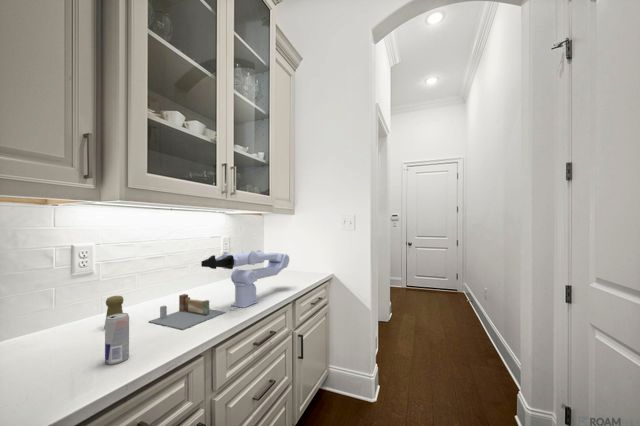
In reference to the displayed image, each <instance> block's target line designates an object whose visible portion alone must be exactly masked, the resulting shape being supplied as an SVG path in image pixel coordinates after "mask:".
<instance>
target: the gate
mask: <svg viewBox="0 0 640 426" xmlns="http://www.w3.org/2000/svg"><path fill="white" fill-rule="evenodd" d="M209 309H210V300H209V299H206V300H201V299H200V300H199V299H194V298H193V299H192V298H191V297H189V296H188V297H187V298H185V311H191V312H196V313H202V314H208V313H209Z"/></svg>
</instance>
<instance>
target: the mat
mask: <svg viewBox="0 0 640 426" xmlns="http://www.w3.org/2000/svg"><path fill="white" fill-rule="evenodd" d="M223 314H226V311H222V310H216V309H211V308H209V313H208V314H202V313H196V312H191V311H185V312H180V311H176V312H173V313H169V314H167V318H165V319H160V317H158V318H153V319H151V320H148V323H150V324H155V325H159V326H163V327H167V328H172V329H176V330H181V331H184V330H187V329H189V328H191V327H194V326H196V325H199V324H202V323H204V322H206V321H208V320H211V319H214V318H216V317H218V316H221V315H223Z"/></svg>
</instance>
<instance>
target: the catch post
mask: <svg viewBox="0 0 640 426" xmlns="http://www.w3.org/2000/svg"><path fill="white" fill-rule="evenodd" d="M167 308H168V307H167V305H162V306H159V318H160V319H165V318H167V315H168V314H167V312H168V311H167V310H168V309H167Z"/></svg>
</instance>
